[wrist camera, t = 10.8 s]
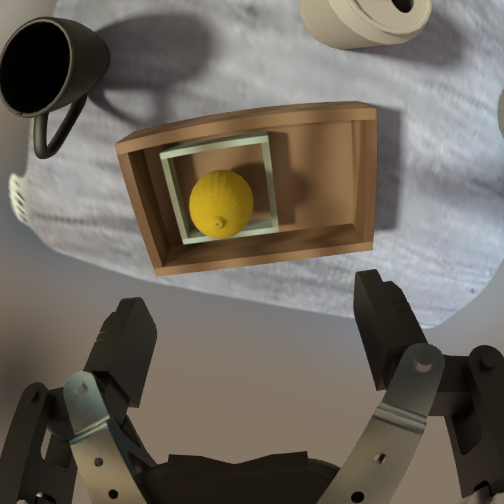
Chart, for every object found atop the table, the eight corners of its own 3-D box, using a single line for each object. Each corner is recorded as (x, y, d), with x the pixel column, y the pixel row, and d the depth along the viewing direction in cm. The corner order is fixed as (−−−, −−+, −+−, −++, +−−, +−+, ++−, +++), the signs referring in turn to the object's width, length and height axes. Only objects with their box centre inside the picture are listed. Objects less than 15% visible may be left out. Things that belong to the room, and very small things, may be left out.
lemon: (245, 153, 28) (244, 183, 22) (258, 204, 31) (261, 247, 25) (189, 167, 29) (171, 201, 22) (205, 216, 32) (195, 261, 25)
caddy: (356, 101, 26) (376, 108, 22) (357, 225, 34) (372, 249, 30) (133, 132, 28) (114, 144, 24) (166, 249, 35) (156, 276, 31)
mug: (52, 135, 27) (-1, 164, 19) (57, 30, 20) (-1, 28, 13) (117, 135, 28) (73, 164, 20) (127, 20, 21) (80, 7, 13)
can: (377, 51, 23) (447, 51, 13) (302, 50, 24) (339, 39, 14) (369, -16, 19) (432, -47, 9) (293, -20, 20) (322, -67, 10)
